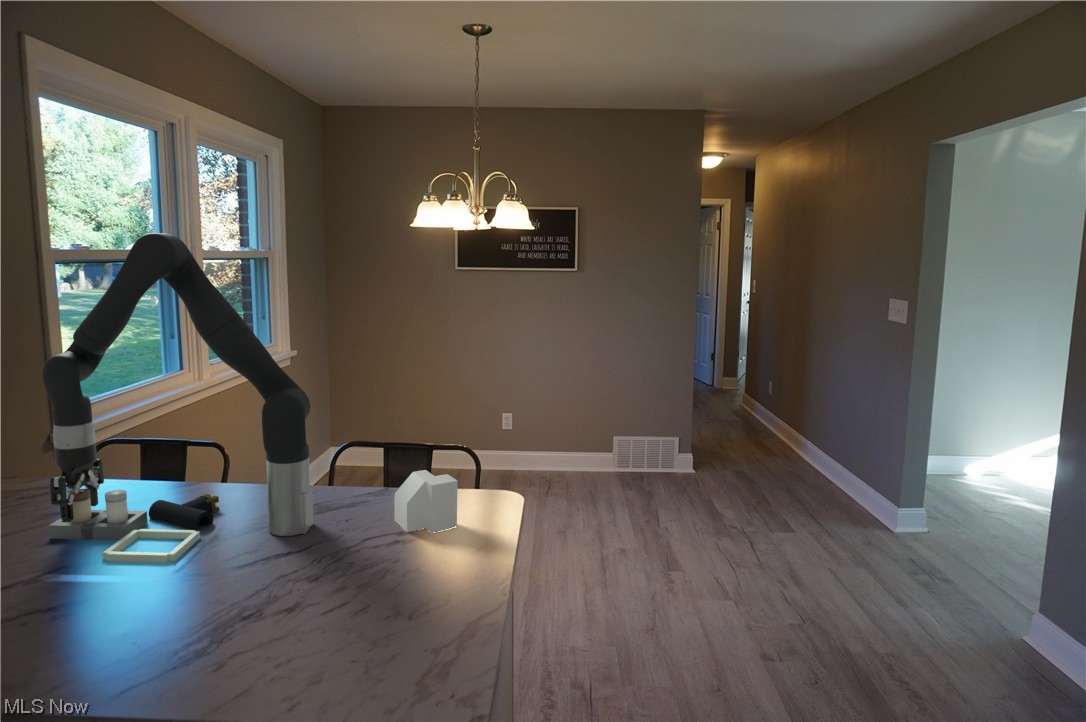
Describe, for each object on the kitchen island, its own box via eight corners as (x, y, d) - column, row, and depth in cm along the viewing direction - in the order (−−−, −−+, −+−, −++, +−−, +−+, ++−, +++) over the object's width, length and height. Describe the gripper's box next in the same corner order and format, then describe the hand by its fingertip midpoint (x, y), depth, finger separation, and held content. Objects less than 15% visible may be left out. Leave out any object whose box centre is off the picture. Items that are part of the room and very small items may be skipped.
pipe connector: (190, 487, 170) (235, 498, 165) (191, 507, 171) (236, 518, 166) (147, 503, 160) (194, 515, 154) (149, 524, 161) (195, 537, 155)
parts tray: (201, 541, 153) (201, 530, 152) (173, 567, 140) (172, 555, 140) (135, 539, 152) (135, 528, 152) (101, 565, 140) (100, 553, 140)
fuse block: (147, 527, 158) (146, 511, 158) (125, 544, 149) (123, 527, 149) (77, 525, 158) (75, 509, 157) (50, 542, 149) (48, 525, 148)
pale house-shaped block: (456, 528, 164) (457, 480, 162) (412, 538, 158) (412, 488, 156) (437, 513, 173) (437, 467, 171) (394, 522, 167) (394, 474, 164)
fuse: (132, 527, 156) (130, 489, 154) (122, 535, 152) (119, 496, 150) (114, 527, 156) (111, 489, 154) (103, 534, 152) (100, 496, 150)
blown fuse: (97, 526, 155) (94, 488, 154) (85, 534, 151) (82, 495, 150) (78, 526, 155) (75, 488, 154) (66, 533, 151) (63, 495, 150)
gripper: (70, 452, 143) (76, 526, 146) (111, 434, 157) (116, 501, 160) (34, 451, 143) (41, 525, 146) (78, 433, 157) (83, 500, 160)
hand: (80, 512), depth 153 cm, fingers open, 8 cm apart
